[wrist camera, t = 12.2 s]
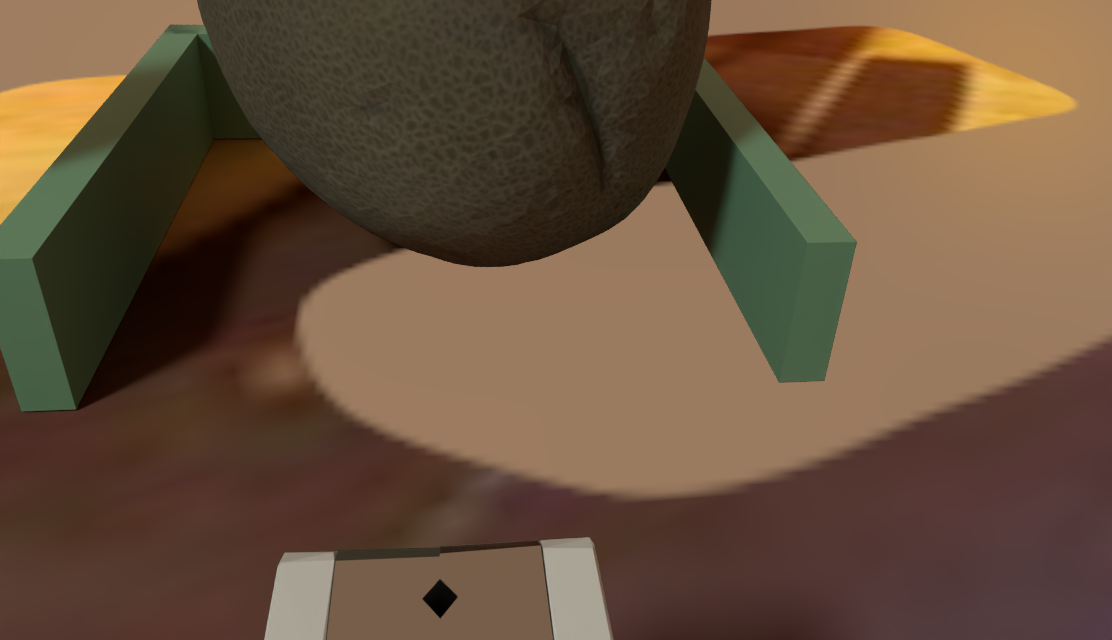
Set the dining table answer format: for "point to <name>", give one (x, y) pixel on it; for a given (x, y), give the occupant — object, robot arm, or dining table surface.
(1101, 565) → the dining table surface
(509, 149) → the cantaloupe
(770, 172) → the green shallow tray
